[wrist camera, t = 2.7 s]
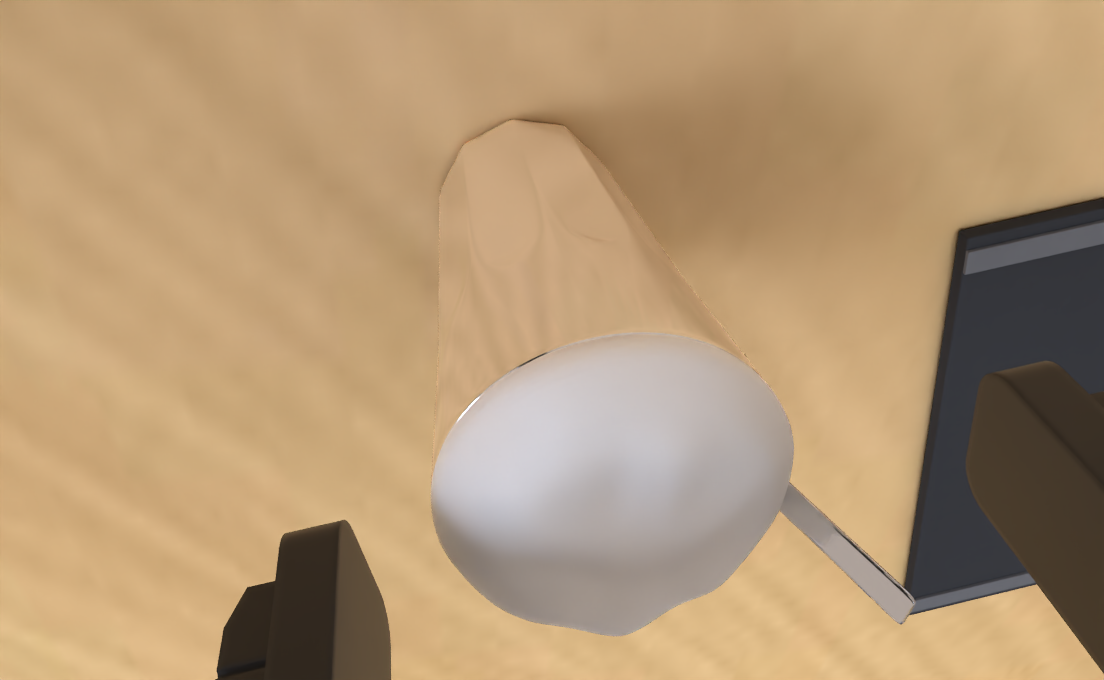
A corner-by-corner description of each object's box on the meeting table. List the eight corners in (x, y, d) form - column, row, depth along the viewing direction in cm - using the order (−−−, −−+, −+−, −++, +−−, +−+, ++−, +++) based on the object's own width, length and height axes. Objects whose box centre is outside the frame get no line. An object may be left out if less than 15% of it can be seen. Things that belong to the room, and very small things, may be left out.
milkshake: (644, 301, 19) (839, 726, 11) (397, 286, 18) (421, 755, 10) (700, 102, 17) (1001, 471, 9) (417, 68, 16) (472, 464, 8)
